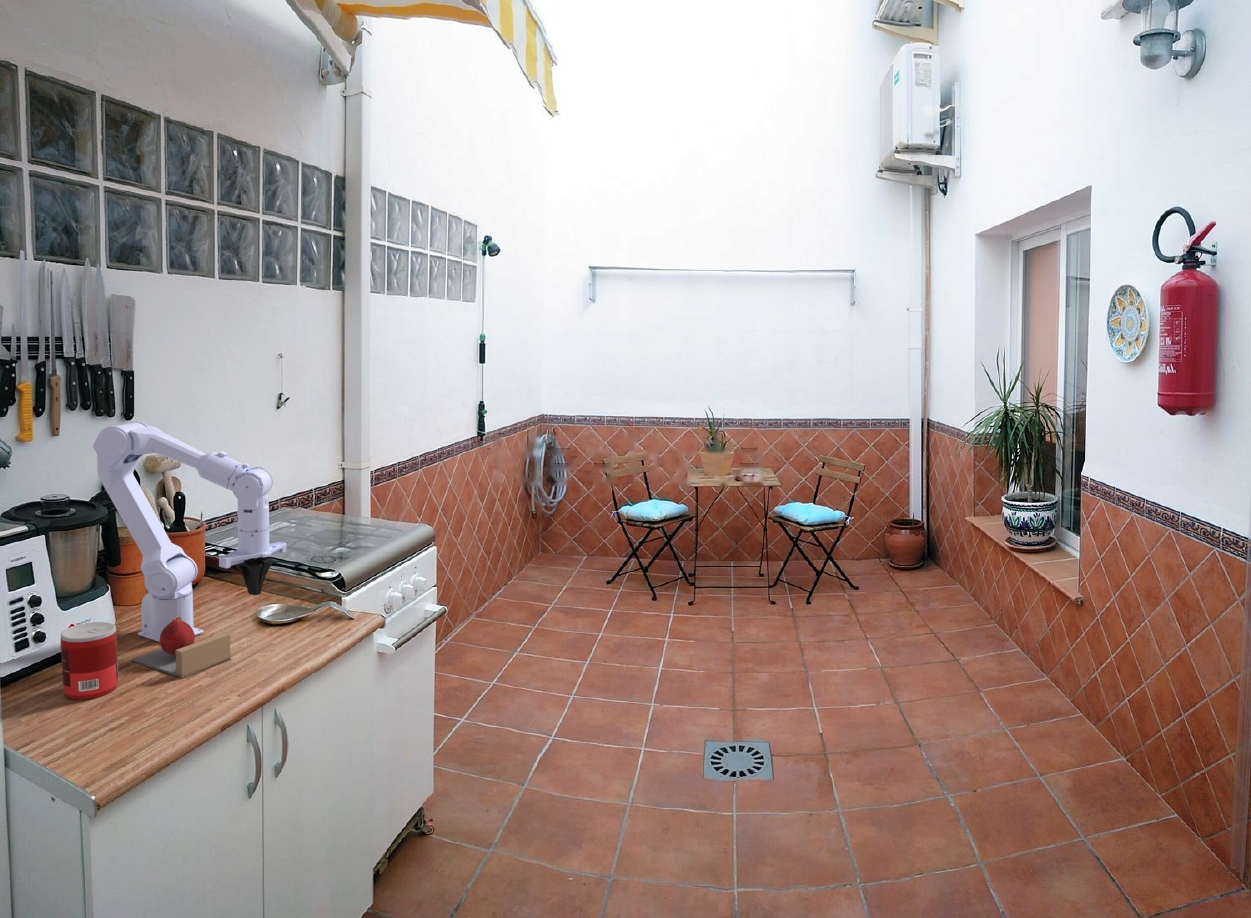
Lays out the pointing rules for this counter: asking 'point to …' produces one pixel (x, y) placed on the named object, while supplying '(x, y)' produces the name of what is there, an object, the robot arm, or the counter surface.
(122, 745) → the counter surface
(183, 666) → the l-shaped bracket
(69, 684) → the canned food
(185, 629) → the onion
